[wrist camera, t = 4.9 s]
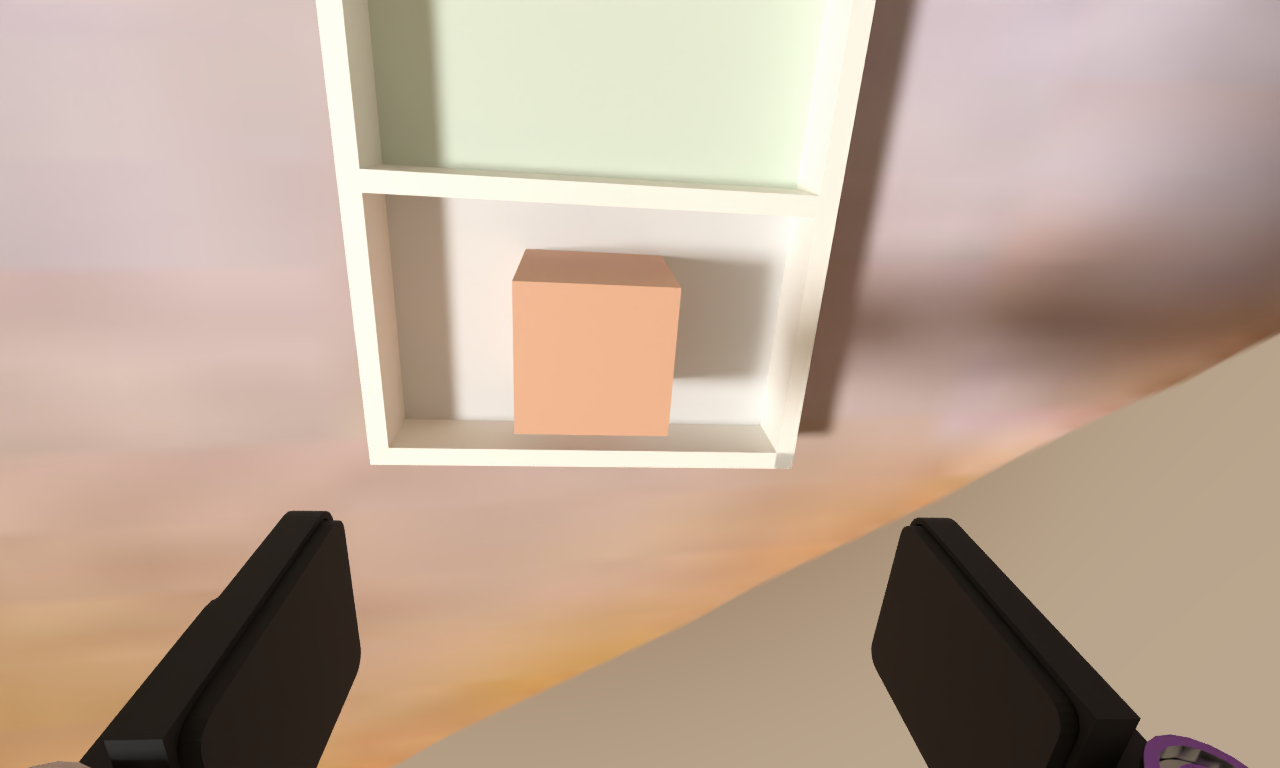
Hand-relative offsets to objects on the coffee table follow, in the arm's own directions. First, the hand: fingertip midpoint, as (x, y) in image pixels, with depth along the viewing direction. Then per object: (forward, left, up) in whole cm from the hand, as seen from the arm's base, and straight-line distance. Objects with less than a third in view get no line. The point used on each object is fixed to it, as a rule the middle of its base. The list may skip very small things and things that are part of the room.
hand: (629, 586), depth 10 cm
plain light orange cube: (0, 0, -15) cm, 15 cm away
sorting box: (-5, 0, -15) cm, 16 cm away
